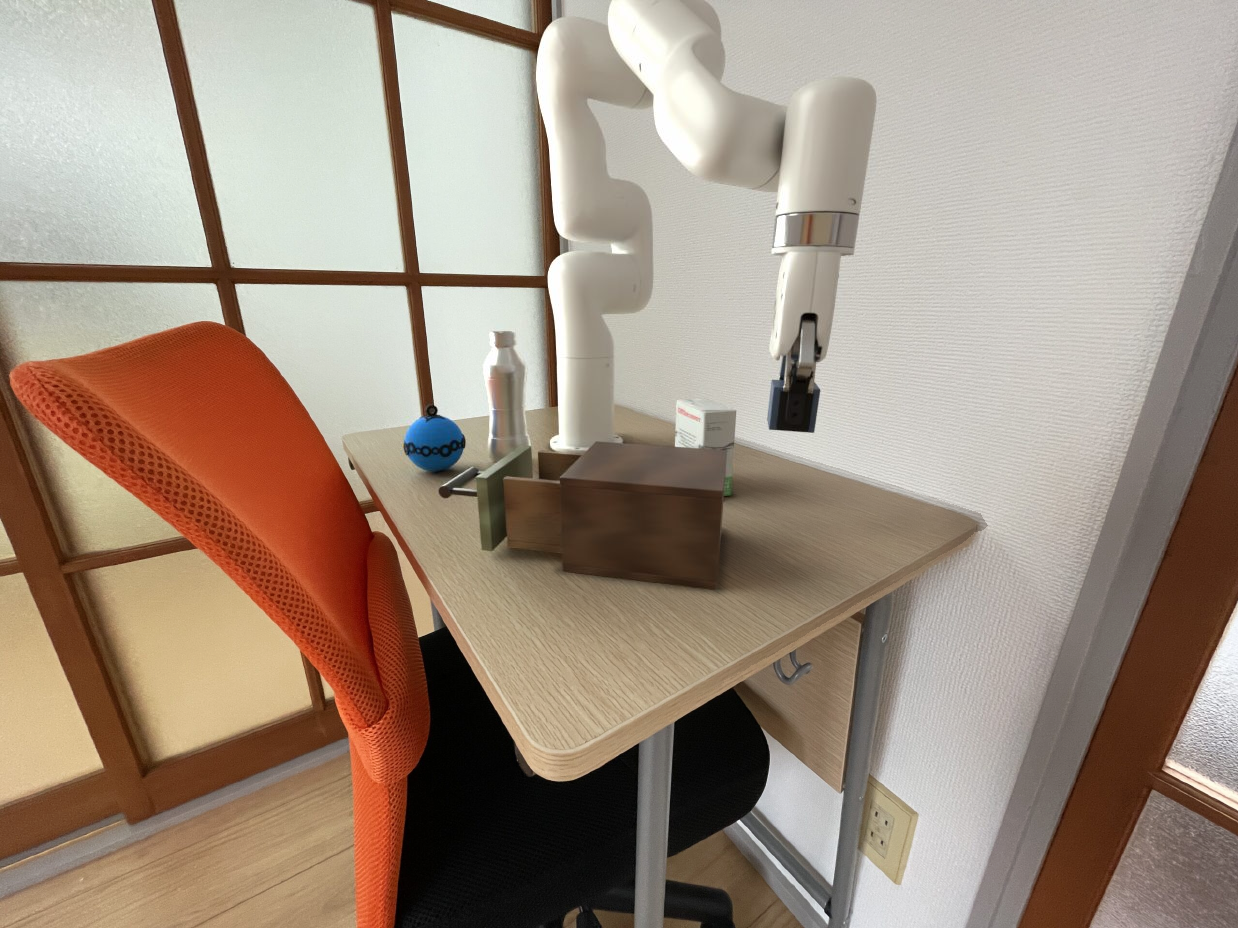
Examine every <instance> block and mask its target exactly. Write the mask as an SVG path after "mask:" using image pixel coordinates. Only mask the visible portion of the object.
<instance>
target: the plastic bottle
mask: <svg viewBox="0 0 1238 928" xmlns="http://www.w3.org/2000/svg"><path fill="white" fill-rule="evenodd" d="M489 339H490V341H489V345H490V346H492V347H491V351H490V352H489V353H488V355H487V356H486V359H485V361H484V363H483V367H482V373H483V376H484V377H483V379H484V384H485V388H486V393H487V402H488V405H489V406H488V411H489V422H488V423H489V425H488V426H489V427H488V429H489V430H488V438H487V453H488V456H489V459H490V460H491V461H492V463H494V464H496V463H497V462H499V461H500V460H502V459H503V458H504V457H506V456H507V455H509V454H510V453H512V452H513V451H515V450H516V449H518V448H519V447H520V446H522V445H523V446H531V447H532V445H531V444H532V443H531V438H530V434H529V432H528V431H529V430H528V423H527V415H526V391H527V390H526V388H527V380H528V366H527V363H526V361H525V359H524V358H523V356H522V354H520V352H519V351H518V350H517V348H516V345H518V341H517V333H516V331H511V330H510V331H509V330H497V331H495V330H494V331H490V332H489Z"/></svg>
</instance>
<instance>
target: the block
mask: <svg viewBox="0 0 1238 928" xmlns="http://www.w3.org/2000/svg"><path fill="white" fill-rule="evenodd" d="M770 381H771V382H770V390H769V401H768V407H767V417H766V420H767V427H768V430H769V431H778V430H777V428H776V420H777V411H778V403H779V395H780V391H783V385H784V380H779V379H771V380H770ZM813 393H814V397H813V404H812V411H811V418H810V426H809V430H808V431H807V432H806V433H809V434H814V433H815V430H816V424H817V416H818V410H819V405H820V404H819V402H820V395H821V389H820V387H819V386H818V384H817V383H816V382H815V381H814V389H813Z"/></svg>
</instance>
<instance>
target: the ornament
mask: <svg viewBox="0 0 1238 928" xmlns="http://www.w3.org/2000/svg"><path fill="white" fill-rule="evenodd" d="M431 409H433V411H432V412H431V411H430V410H431ZM424 412H425V414H426V415H423V416H420V417H419V418H418V419H416V420H415V421H413V422H412V423H411V424H410V426H409V427H408V429H407V431H406V433H405V436H404V439H403V445H402V446H403V451H404V454H405V456H407V457H408V459H409V460H410V461H411V462H412V463H413V464H414V466H416V467H418V468H419V469H422V470H423V471H427V472H433V473H439V472H443V471H446V470H448V469H450V468H452V467H454V465H456V464H457V463H458V462H459V460H460V459H461V457H462V455H463V453H464V450H465V448H466V445H467V444H466V443H467V442H466V436H465V434H464V433H463V432H462V430H461V429H460V427H459V426H458V424H457V423H456V422H454V421H453V420H452V419H450V418H449V417H447V416H443V415H440V414H438V412H439V409H438V407H437V406H436V405H435V404H428V405H426V406H425V409H424Z"/></svg>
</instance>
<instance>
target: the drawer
mask: <svg viewBox="0 0 1238 928" xmlns="http://www.w3.org/2000/svg"><path fill="white" fill-rule="evenodd" d="M583 454H584V453H573V452H559V451H555V450H543V449H540V450H538V451H537V466H538V467H537V468H538V478H534V473H533V451H532V445H531V446H523V445H522V446H520V447H519V448H518V449H516V450H515V451H513V452H512V453H510V454H509V455H507V456H506V457H504V458H503V459H502V460H500V461H499V462H497V463H494V464H492V465H491V466H490V467H488V468H487V469H486V470H484V471H480V470H479V469H478V468H477V467H476V466H470V467H469V468H467V469H466V470H464V471H463V472H461V473H460V474H458V475H457V476H455V477H453V478H452V479H450V480H449V481H446V483H444V484H442V485H440V486H439V487H438V494H439V496H440V497H441V498H443V499H449V498H451V496H462V497H473V498H474V497H475V498H477V499H476V500H477V508H478V509H477V510H478V511H477V512H478V523H479V533H480V535H479V536H480V546H481V551H485V552H493V551H495V549H497V547H498V546H499V545H500V544H501V543H502V542H503V541H504V540H505V539H506V544H507V545H506V546H507V548H511V549H512V548H513V549H521V550H529V551H538V552H547V553H555V554H556V553H557V554H562V537H561V503H560V477H561V476H562V475H563V474H564V473H565V472H566V471H567V470H568V469H569V468H570V467H571V466H572V465H573V464H574V463H575V462H576V461H577V460H578V459H579V458H580V457H581V456H582V455H583ZM474 481H475V487H476V489H474V488H473V489H472V488H465V487H466V486H468V485H470V484H471V483H472V482H474Z"/></svg>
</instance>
